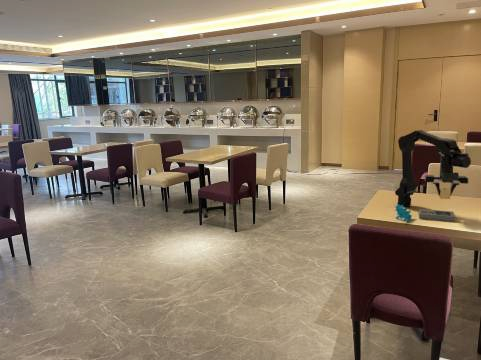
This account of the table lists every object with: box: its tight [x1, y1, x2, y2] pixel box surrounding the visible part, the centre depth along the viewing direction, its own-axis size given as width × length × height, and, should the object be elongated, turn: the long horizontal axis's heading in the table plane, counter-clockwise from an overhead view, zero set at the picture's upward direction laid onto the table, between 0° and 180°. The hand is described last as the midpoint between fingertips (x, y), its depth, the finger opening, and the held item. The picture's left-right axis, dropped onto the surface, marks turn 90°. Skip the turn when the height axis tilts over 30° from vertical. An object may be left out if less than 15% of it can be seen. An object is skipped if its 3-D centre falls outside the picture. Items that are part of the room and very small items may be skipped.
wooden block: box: [438, 187, 452, 200], centre depth 186 cm, size 4×4×5 cm
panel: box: [418, 208, 457, 223], centre depth 189 cm, size 16×9×3 cm, turn 68°
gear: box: [394, 204, 413, 223], centre depth 188 cm, size 11×6×10 cm
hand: (444, 195), depth 186 cm, fingers closed on wooden block, 4 cm apart
